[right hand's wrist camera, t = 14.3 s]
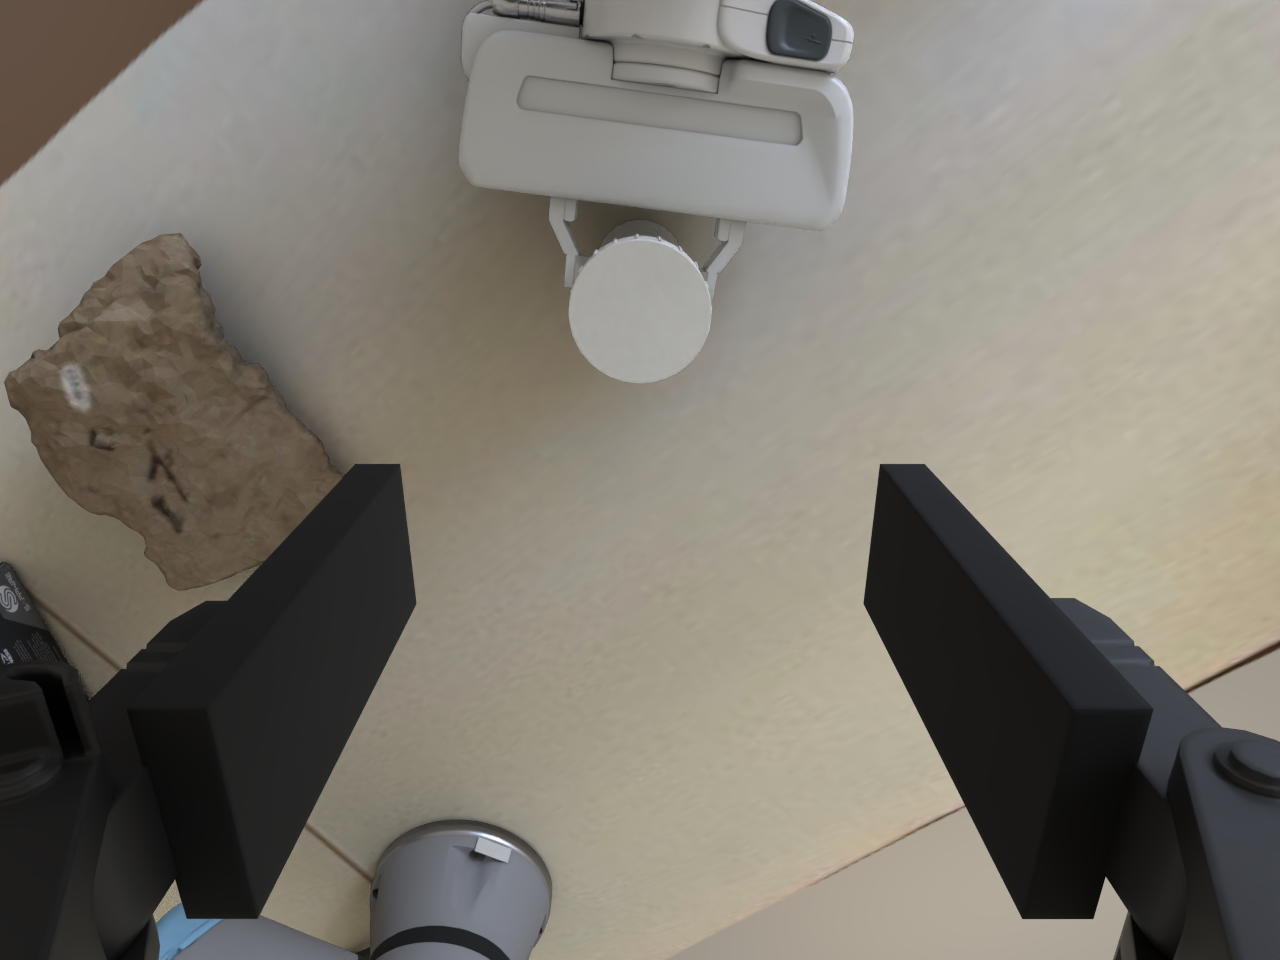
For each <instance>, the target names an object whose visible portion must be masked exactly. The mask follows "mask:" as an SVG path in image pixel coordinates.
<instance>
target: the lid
mask: <svg viewBox="0 0 1280 960" xmlns="http://www.w3.org/2000/svg"><path fill="white" fill-rule="evenodd" d="M698 268H699V266H698V265H697V263H696V261H695V262H693V261H692V260H691V258H690V257H689V256H688V255H687V254H686V253H684V252H683V251H682V248H681V247H680V246H679V247H677V246H675V245H673V244H672V243H669V242H667V241H665V240H662V239H661V237H659V236H658V238H656V237H650V236H639V234H636V236H629V237H625V238H621V239H618V240H617V239H616V238H615V239H614V241H613V242H610V243H608V244H607V245H605V246H603V247H602V248H600V249H599V250H597V249H596V250H595V251H594V253H593V255H592V256H591V257H590V258H589V259H588V261H587V262H586V263H585V265H584V266H581V267H580V269H579V271H578V272H579V275H578V277H577V278H576V280H575V283H574V285H573V286H572V288H571V290H570V292H569V293H570V294H571V295H570V299H569V307H568V311H569V312H568V316H569V324H570V329H571V332H572V337H573V338H574V341H575V343H576V345H577V347H578V348H579V350H580V352H581V353H582V354H583V356H584V357H585V358H586V360H587V361H588V362H589V363H590V364H591V365H592V366H594V367H595V368H596V369H597V370H599V371H600V372H602V373H603V374H605V375H607V376H609V377H611V378H614V379H616V380H619V381H623V382H628V383H636V384H644V383H653V382H657V381H661V380H664V379H666V378H669V377H671V376H673V375H675V374H677V373H678V372H680V371H681V370H682V369H684V368H685V367H686V366H687V365H688V364H690V363H691V362H692V360H693V359H694V358H695V357H696V356H697V355H698V353H699V352H700V350H701V348H702V347H703V345H704V343H705V340H706V338H707V335H708V333H709V329H710V323H711V313H712V311H713V308H712V306H711V300H710V295H709V291H708V288H709V286H708V284H707V282H706V281H704V279H703V277H702V275H701V273H700V271H699V269H698Z"/></svg>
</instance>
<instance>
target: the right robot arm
mask: <svg viewBox="0 0 1280 960" xmlns="http://www.w3.org/2000/svg"><path fill="white" fill-rule="evenodd" d="M415 606H416V596H415V587H414V579H413V571H412V562H411V554H410V545H409V537H408V528H407V520H406V511H405V503H404V494H403V486H402V477H401V469H400V464H355V465H354V466H353V467H352V468H351V469H350V470H349V472H348V473H347V474H346V475H345V476H344V477H343V478H342V479H341V480H340V481H339V482H338V483H337V484H336V485H335V487H334V488H333V489H332V490H331V491H330V492H329V493H328V494H327V495H326V496H325V497H324V498H323V499H322V500H321V501H320V503H319V504H318V505H317V506H316V507H315V508H314V509H313V510H312V511H311V512H310V513H309V514H308V515H307V516H306V517H305V519H304V520H303V521H302V522H301V523H300V524H299V525H298V526H297V527H296V528H295V529H294V530H293V531H292V532H291V533H290V535H289V536H288V537H287V538H286V539H285V540H284V541H283V542H282V543H281V544H280V545H279V546H278V547H277V548H276V550H275V551H274V552H273V553H272V554H271V555H270V556H269V557H268V558H267V559H266V560H265V561H264V562H263V563H262V564H261V566H260V567H259V568H258V569H257V570H256V571H255V572H254V573H253V574H252V575H251V576H250V577H249V578H248V579H247V580H246V582H245V583H244V584H243V585H242V586H241V587H240V588H239V589H238V590H237V591H236V592H235V593H234V594H233V595H232V596H231V598H230V599H229V600H228V601H205V602H203V603H202V604H200V605H198V606H196V607H194V608H193V609H191V610H189V611H187V612H186V613H184V614H182V615H180V616H179V617H177V618H175V619H173V620H171V621H170V622H169V623H168V624H167V625H166V626H165V627H164V628H163V629H162V630H161V631H160V632H159V633H158V634H157V635H156V636H155V637H154V638H153V639H152V640H151V641H150V642H149V643H148V644H147V648H146V649H142V650H141V651H140V652H138V653H137V654H136V655H135V656H134V657H133V658H132V659H131V660H130V661H129V662H128V663H127V668H126V669H121V670H120V671H119V672H118V673H117V674H116V675H115V676H114V677H113V678H112V679H111V680H110V681H109V682H108V683H107V684H106V685H105V686H104V687H103V688H102V689H101V690H100V691H99V692H98V693H97V694H96V695H95V696H94V697H93V698H92V699H91V700H90V701H89V702H87V699H86V696H85V693H84V689H83V686H82V683H81V680H80V676H79V673H78V670H76V669H75V668H73V667H72V666H70V665H68V664H67V663H65V662H59V661H50V660H34V661H25V662H16V663H10V664H6V665H3V666H0V960H528V959H529V957H530V954H531V951H532V949H533V948H534V946H535V945H536V944H537V942H538V941H539V939H540V937H541V936H542V934H543V932H544V929H545V927H546V924H547V921H548V918H549V914H550V907H551V899H552V882H551V878H550V874H549V872H548V869H547V867H546V865H545V863H544V862H543V860H542V859H541V857H540V856H539V855H538V854H537V852H536V851H535V850H534V849H533V848H532V847H531V846H529V845H528V844H527V843H526V842H525V841H523V840H522V839H520V838H519V837H517V836H516V835H514V834H512V833H510V832H508V831H506V830H504V829H501V828H499V827H496V826H493V825H490V824H486V823H481V822H476V821H469V820H446V821H438V822H433V823H429V824H425V825H422V826H419V827H417V828H414V829H412V830H410V831H408V832H407V833H405V834H403V835H402V836H400V837H399V838H398V839H396V840H395V841H394V842H393V843H392V844H391V845H390V846H389V847H388V848H387V850H386V851H385V853H384V854H383V856H382V858H381V860H380V862H379V865H378V867H377V870H376V873H375V875H374V878H373V881H372V885H371V894H370V911H371V915H370V947H369V948H367V949H365V950H362V951H359V952H357V953H352V952H350V951H347V950H345V949H342V948H340V947H337V946H335V945H332V944H330V943H327V942H325V941H322V940H320V939H318V938H315V937H313V936H310V935H308V934H305V933H303V932H300V931H298V930H295V929H293V928H291V927H288V926H286V925H283V924H281V923H278V922H276V921H273V920H271V919H268V918H266V917H263V916H261V915H260V913H261V911H262V909H263V907H264V905H265V903H266V901H267V899H268V897H269V895H270V893H271V891H272V889H273V887H274V885H275V883H276V881H277V879H278V877H279V875H280V873H281V871H282V869H283V867H284V865H285V863H286V861H287V860H288V858H289V856H290V854H291V852H292V850H293V848H294V846H295V844H296V842H297V840H298V838H299V836H300V834H301V832H302V830H303V828H304V826H305V824H306V822H307V820H308V818H309V816H310V814H311V812H312V810H313V808H314V806H315V804H316V802H317V800H318V798H319V796H320V794H321V792H322V790H323V788H324V786H325V784H326V782H327V780H328V778H329V776H330V774H331V772H332V770H333V768H334V766H335V764H336V762H337V760H338V758H339V756H340V754H341V752H342V750H343V748H344V746H345V744H346V742H347V740H348V739H349V737H350V735H351V733H352V731H353V729H354V727H355V725H356V723H357V721H358V719H359V717H360V715H361V713H362V711H363V709H364V707H365V705H366V703H367V701H368V699H369V697H370V695H371V693H372V691H373V689H374V687H375V685H376V683H377V681H378V679H379V677H380V675H381V673H382V671H383V669H384V667H385V665H386V663H387V661H388V659H389V657H390V655H391V653H392V651H393V649H394V647H395V645H396V643H397V641H398V639H399V637H400V635H401V633H402V631H403V629H404V627H405V625H406V623H407V621H408V619H409V618H410V616H411V614H412V612H413V610H414V608H415ZM864 606H865V608H866V610H867V612H868V614H869V616H870V618H871V619H872V621H873V623H874V625H875V627H876V629H877V631H878V633H879V635H880V637H881V639H882V641H883V643H884V645H885V647H886V649H887V651H888V653H889V655H890V657H891V659H892V661H893V663H894V665H895V667H896V669H897V671H898V673H899V675H900V677H901V679H902V681H903V683H904V685H905V687H906V689H907V691H908V693H909V695H910V697H911V699H912V701H913V703H914V705H915V707H916V709H917V711H918V713H919V715H920V717H921V719H922V721H923V723H924V725H925V727H926V729H927V731H928V733H929V735H930V737H931V739H932V740H933V742H934V744H935V746H936V748H937V750H938V752H939V754H940V756H941V758H942V760H943V762H944V764H945V766H946V768H947V770H948V772H949V774H950V776H951V778H952V780H953V782H954V784H955V786H956V788H957V790H958V792H959V794H960V796H961V798H962V800H963V802H964V804H965V806H966V808H967V810H968V812H969V814H970V816H971V818H972V820H973V822H974V824H975V826H976V828H977V830H978V832H979V834H980V836H981V838H982V840H983V842H984V844H985V846H986V848H987V850H988V852H989V854H990V856H991V857H992V859H993V861H994V863H995V865H996V867H997V869H998V871H999V873H1000V875H1001V877H1002V879H1003V881H1004V883H1005V885H1006V887H1007V889H1008V891H1009V893H1010V895H1011V897H1012V899H1013V901H1014V903H1015V905H1016V907H1017V909H1018V911H1019V913H1020V915H1021V917H1022V919H1093V918H1094V915H1095V911H1096V908H1097V905H1098V901H1099V898H1100V894H1101V891H1102V887H1103V884H1104V880H1105V877H1107V879H1108V880H1109V882H1110V883H1111V885H1112V886H1113V888H1114V890H1115V891H1116V893H1117V894H1118V896H1119V897H1120V899H1121V900H1122V902H1123V903H1124V905H1125V906H1126V908H1127V910H1128V913H1127V917H1126V920H1125V923H1124V926H1123V930H1122V933H1121V936H1120V939H1119V942H1118V946H1117V949H1116V952H1115V956H1114V959H1113V960H1280V742H1279V741H1277V740H1274V739H1270V738H1267V737H1264V736H1261V735H1258V734H1255V733H1251V732H1248V731H1245V730H1237V729H1230V728H1222V727H1221V726H1220V725H1219V724H1218V723H1217V722H1216V721H1215V720H1214V719H1213V718H1212V717H1211V716H1210V715H1209V714H1208V713H1207V712H1206V711H1205V710H1204V709H1203V708H1202V707H1201V706H1200V705H1199V704H1198V703H1196V701H1194V700H1193V699H1192V698H1191V697H1190V696H1189V695H1188V694H1187V693H1186V692H1185V691H1184V690H1183V689H1182V688H1181V687H1180V686H1179V685H1178V684H1177V683H1176V682H1175V681H1174V680H1173V679H1172V678H1171V677H1170V676H1169V675H1168V674H1167V673H1166V672H1165V671H1164V670H1163V669H1162V668H1161V667H1160V666H1155V665H1154V661H1153V660H1152V659H1151V658H1150V657H1149V656H1148V655H1147V654H1146V653H1145V652H1144V651H1143V650H1142V649H1141V648H1140V647H1139V646H1134V641H1133V640H1132V639H1131V638H1130V637H1129V636H1128V635H1127V634H1126V633H1125V632H1124V631H1123V630H1122V629H1121V628H1120V627H1119V626H1118V625H1116V624H1115V623H1114V622H1113V621H1112V620H1111V619H1110V618H1109V617H1107V616H1105V615H1103V614H1102V613H1100V612H1098V611H1096V610H1094V609H1093V608H1091V607H1089V606H1087V605H1086V604H1084V603H1082V602H1080V601H1078V600H1077V599H1075V598H1049V596H1048V595H1047V594H1046V593H1045V592H1044V591H1043V590H1042V589H1041V588H1040V587H1039V586H1038V585H1037V584H1036V583H1035V582H1034V580H1033V579H1032V578H1031V577H1030V576H1029V575H1028V574H1027V573H1026V572H1025V571H1024V570H1023V569H1022V568H1021V567H1020V566H1019V564H1018V563H1017V562H1016V561H1015V560H1014V559H1013V558H1012V557H1011V556H1010V555H1009V554H1008V553H1007V552H1006V551H1005V550H1004V548H1003V547H1002V546H1001V545H1000V544H999V543H998V542H997V541H996V540H995V539H994V538H993V537H992V536H991V535H990V533H989V532H988V531H987V530H986V529H985V528H984V527H983V526H982V525H981V524H980V523H979V522H978V521H977V520H976V519H975V517H974V516H973V515H972V514H971V513H970V512H969V511H968V510H967V509H966V508H965V507H964V506H963V505H962V504H961V503H960V501H959V500H958V499H957V498H956V497H955V496H954V495H953V494H952V493H951V492H950V491H949V490H948V489H947V488H946V487H945V485H944V484H943V483H942V482H941V481H940V480H939V479H938V478H937V477H936V476H935V475H934V474H933V473H932V472H931V470H930V469H929V468H928V467H927V466H926V465H925V464H880V469H879V477H878V486H877V494H876V503H875V511H874V520H873V528H872V537H871V545H870V554H869V562H868V571H867V579H866V587H865V596H864ZM174 880H176V884H177V887H178V891H179V894H180V898H181V901H182V903H180V904H178V905H176V906H175V907H173V908H172V909H171V910H170V911H168V912H167V913H166V914H165V915H164V916H163V917H162V918H161V919H160V920H159V921H158V922H157V923H155V920H154V917H153V912H154V911H155V909H156V908H157V906H158V905H159V903H160V902H161V900H162V899H163V897H164V895H165V894H166V892H167V891H168V889H169V888H170V886H171V885H172V883H173V882H174Z"/></svg>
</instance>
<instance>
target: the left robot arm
mask: <svg viewBox="0 0 1280 960" xmlns="http://www.w3.org/2000/svg"><path fill="white" fill-rule="evenodd" d="M491 8H492V11H493V14H495V15H497V16H493V15H486V14H479V13H481V12H482V11H484V10H487V9H491ZM520 18H522V19H528V18H529V19H530V20H535V21H529V20H522V19H520ZM536 21H540V22H536ZM544 22H545V23H544ZM580 25H581V26H582V27H583V28H582V39H580V33H581V29H580ZM853 39H854V32H853V28H852V26H851V25H850V24H849V22H847V21H846V20H845V19H843V18H842V17H840V16H838V15H837V14H835V13H833V12H831V11H829V10H827V9H825V8H823V7H822V6H820V5H818V4H816V3H814V2H812V1H810V0H583V2H577V1H572V0H570V1H569V0H483V1H481V2H479V3H477V4H476V5H474V6H473V7H472V8H471V9H470V11H469V12H468V13H467V15H466V17H465V19H464V21H463V25H462V33H461V65H462V69H463V72H464V75H465V77H466V79H467V80H468V82H469V84H468V89H467V94H466V100H465V106H464V112H463V118H462V126H461V134H460V145H459V166H460V169H461V170H462V172H463V174H464V175H465V177H466V178H467V180H468V181H469V182H470V184H471V185H473V186H475V187H482V188H489V189H497V190H505V191H513V192H520V193H528V194H536V195H543V196H550V207H549V221H550V224H551V226H552V228H553V230H554V233H555V235H556V237H557V239H558V241H559V244H560V246H561V248H562V250H563V253H564V254H566V264H565V276H564V287H570V288H572V286H573V285H574V283H575V280H576V278H577V277H578V275H579V272H578V271H579V269H580V267H581V266H584V265H585V263H586V262H587V261H588V259H589V258H590V257H591V256H592V255H593V254H587V253H580V250H579V247H578V245H577V243H576V240H575V238H574V235H573V233H572V231H571V228H570V226H569V224H568V221H570V222H573V221H574V220H575V219H576V218H577V215H578V205H579V200H582V201H590V202H598V203H605V204H613V205H621V206H629V207H636V208H644V209H652V210H659V211H667V212H675V213H683V214H690V215H698V216H706V217H714V218H716V225H715V233H714V235H715V237H716V238H717V239H718V240H719V241H722V242H721V244H720V245H719V247H718V248H717V249H716V251H715V252H714V253H713V255H712V256H711V257H710V259H709V260H708V261H707V263H706V264H705V265H704V267H703V268H698V269H699V271H700V273H701V275H702V277H703V279H704V281H706V282H707V284H708V286H709V288H708V291H709V295H710V300H711V304H712V301H713V296H714V290H715V284H716V277H717V273H720V272H721V271H722V269H723V268H724V267H725V266H726V264H727V263H728V262H729V261H730V259H731V258H732V257H733V255H734V254H735V253H736V252H737V250H738V249H739V248H740V246H741V245H742V243H743V237H744V231H745V225H746V222H752V223H760V224H768V225H775V226H783V227H791V228H799V229H806V230H814V231H824V230H826V229H827V228H828V227H830V226H831V225H832V224H833V223H834V222H835V221H836V220H837V219H838V218H839V217H840V215H841V213H842V210H843V207H844V202H845V198H846V192H847V186H848V179H849V171H850V163H851V153H852V140H853V107H852V102H851V98H850V95H849V93H848V91H847V89H846V87H845V86H844V84H843V83H842V82H841V81H840V80H839V79H838V78H836V77H835V76H833V74H835V73H836V72H838V71H839V70H841V69H842V68H843V67H844V65H845V64H846V63H847V61H848V59H849V57H850V54H851V50H852V46H853Z"/></svg>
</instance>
